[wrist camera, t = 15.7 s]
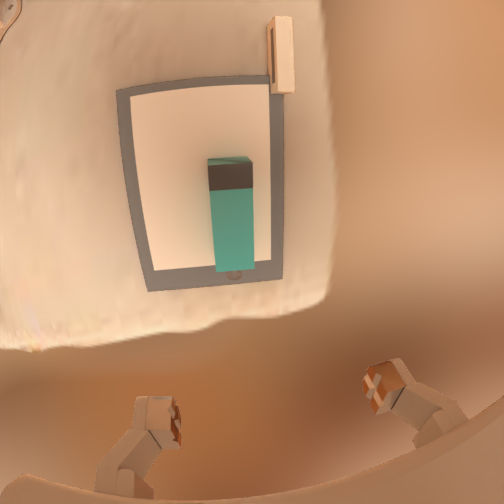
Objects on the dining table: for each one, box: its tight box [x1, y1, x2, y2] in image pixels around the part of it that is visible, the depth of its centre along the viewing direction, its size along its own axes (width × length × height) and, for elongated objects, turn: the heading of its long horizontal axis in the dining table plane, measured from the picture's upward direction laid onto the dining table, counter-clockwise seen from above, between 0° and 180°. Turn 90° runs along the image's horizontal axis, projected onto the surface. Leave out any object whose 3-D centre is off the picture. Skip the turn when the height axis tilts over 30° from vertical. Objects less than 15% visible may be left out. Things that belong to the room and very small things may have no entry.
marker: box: [208, 156, 255, 281], centre depth 30 cm, size 13×4×4 cm, turn 1°
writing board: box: [116, 75, 284, 292], centre depth 30 cm, size 24×17×1 cm
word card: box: [267, 16, 295, 94], centre depth 23 cm, size 8×2×4 cm, turn 2°
